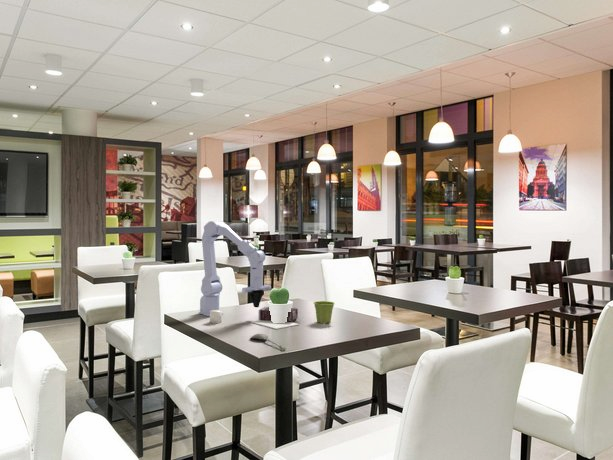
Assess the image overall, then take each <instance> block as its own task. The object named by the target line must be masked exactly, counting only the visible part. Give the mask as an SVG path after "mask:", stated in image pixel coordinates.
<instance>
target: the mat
mask: <svg viewBox="0 0 613 460" xmlns="http://www.w3.org/2000/svg"><path fill="white" fill-rule="evenodd" d="M250 323H252V324H254V325H259V326H262V327H266V328H270V329H273V330H281V329H286V328H291V327H296V326H300V323H296V322H294V321H293V322H285V323H273V322H272V321H266V320H259V319H258V320H253V321H251V322H250Z"/></svg>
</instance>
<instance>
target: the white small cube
mask: <svg viewBox="0 0 613 460" xmlns="http://www.w3.org/2000/svg"><path fill="white" fill-rule="evenodd" d="M222 313H223V311H222V310H221V309H219V310H211V311H210V316H209V323H210V324H221V323H222V316H223V314H222Z"/></svg>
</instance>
